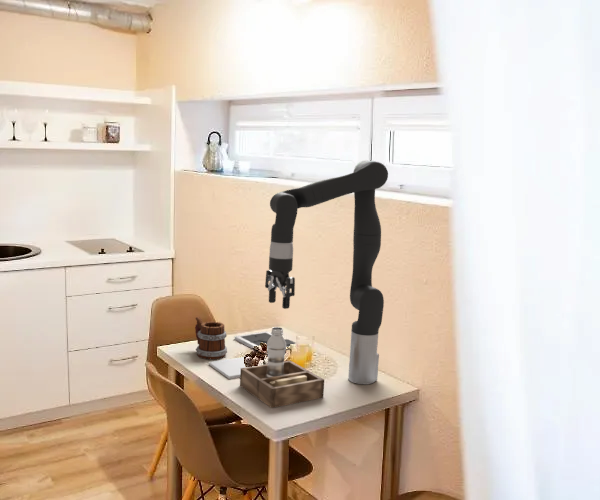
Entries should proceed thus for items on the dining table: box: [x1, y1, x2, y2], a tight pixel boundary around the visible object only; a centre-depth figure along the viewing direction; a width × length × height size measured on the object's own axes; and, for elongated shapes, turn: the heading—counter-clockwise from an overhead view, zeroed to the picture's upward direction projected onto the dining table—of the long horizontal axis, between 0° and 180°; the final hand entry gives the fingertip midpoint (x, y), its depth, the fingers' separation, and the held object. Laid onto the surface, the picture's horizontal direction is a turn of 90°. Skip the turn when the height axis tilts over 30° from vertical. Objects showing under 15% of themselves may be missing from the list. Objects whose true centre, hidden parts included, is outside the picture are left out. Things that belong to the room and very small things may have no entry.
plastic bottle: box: [265, 326, 287, 378], centre depth 211 cm, size 6×7×20 cm
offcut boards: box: [269, 375, 307, 387], centre depth 204 cm, size 14×5×6 cm, turn 123°
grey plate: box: [208, 356, 246, 380], centre depth 229 cm, size 16×16×1 cm
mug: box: [194, 316, 228, 361], centre depth 242 cm, size 12×14×15 cm
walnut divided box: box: [239, 360, 325, 409], centre depth 209 cm, size 19×20×6 cm
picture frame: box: [234, 330, 296, 349], centre depth 260 cm, size 16×3×21 cm
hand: (278, 305), depth 209 cm, fingers open, 8 cm apart
